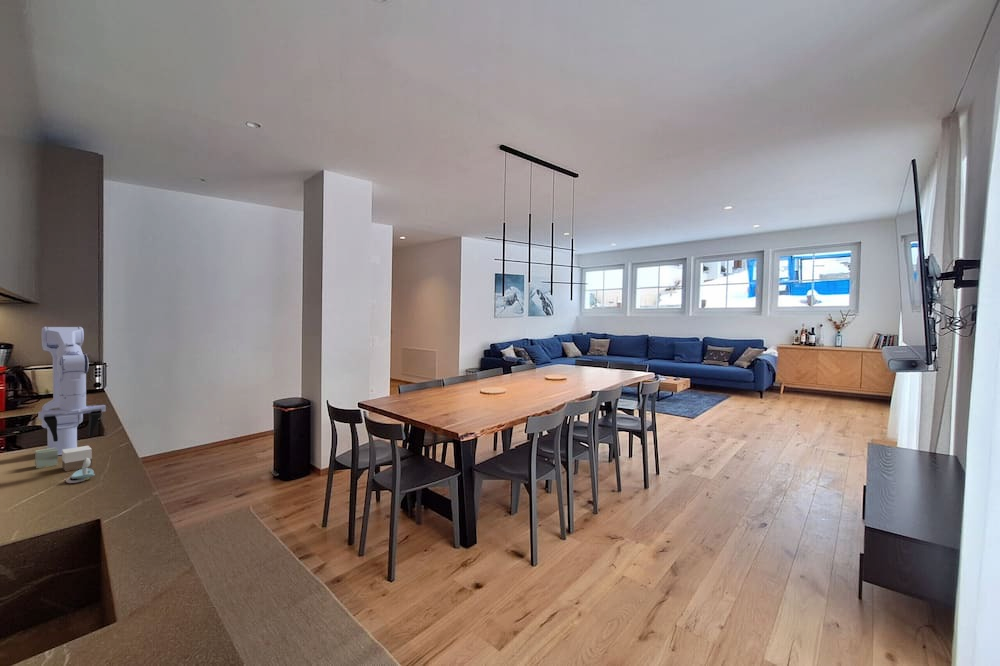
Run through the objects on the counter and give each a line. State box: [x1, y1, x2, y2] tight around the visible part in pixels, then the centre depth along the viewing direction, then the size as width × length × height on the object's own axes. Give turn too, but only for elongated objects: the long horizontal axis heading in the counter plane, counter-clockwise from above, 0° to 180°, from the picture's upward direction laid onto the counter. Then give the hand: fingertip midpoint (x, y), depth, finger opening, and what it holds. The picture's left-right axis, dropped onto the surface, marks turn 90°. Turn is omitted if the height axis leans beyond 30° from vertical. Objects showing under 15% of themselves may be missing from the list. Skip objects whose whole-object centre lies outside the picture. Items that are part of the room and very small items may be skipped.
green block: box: [34, 447, 59, 469], centre depth 135 cm, size 4×4×5 cm
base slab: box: [61, 458, 93, 472], centre depth 134 cm, size 6×6×3 cm
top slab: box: [61, 445, 93, 463], centre depth 134 cm, size 6×6×3 cm
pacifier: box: [65, 458, 96, 484], centre depth 124 cm, size 7×6×6 cm
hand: (73, 438), depth 131 cm, fingers open, 7 cm apart
